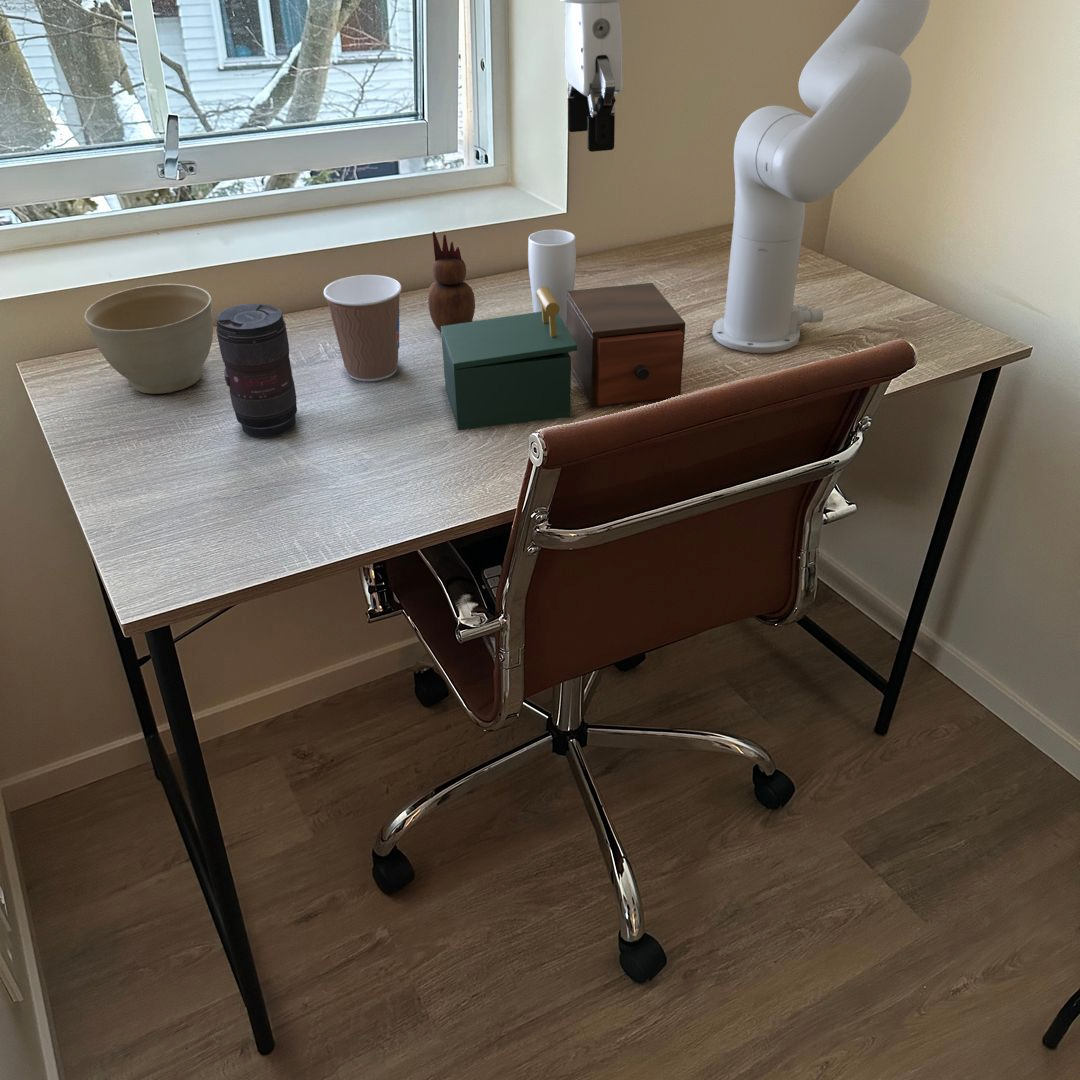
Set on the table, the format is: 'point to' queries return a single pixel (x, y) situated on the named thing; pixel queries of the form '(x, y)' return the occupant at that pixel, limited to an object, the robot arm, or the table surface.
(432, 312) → the wooden figurine
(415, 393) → the table surface
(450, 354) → the lid
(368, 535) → the table surface
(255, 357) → the camera lens
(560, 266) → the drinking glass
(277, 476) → the table surface
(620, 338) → the drawer
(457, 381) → the chest
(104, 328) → the planter bowl
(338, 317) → the coffee cup
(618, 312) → the cabinet
